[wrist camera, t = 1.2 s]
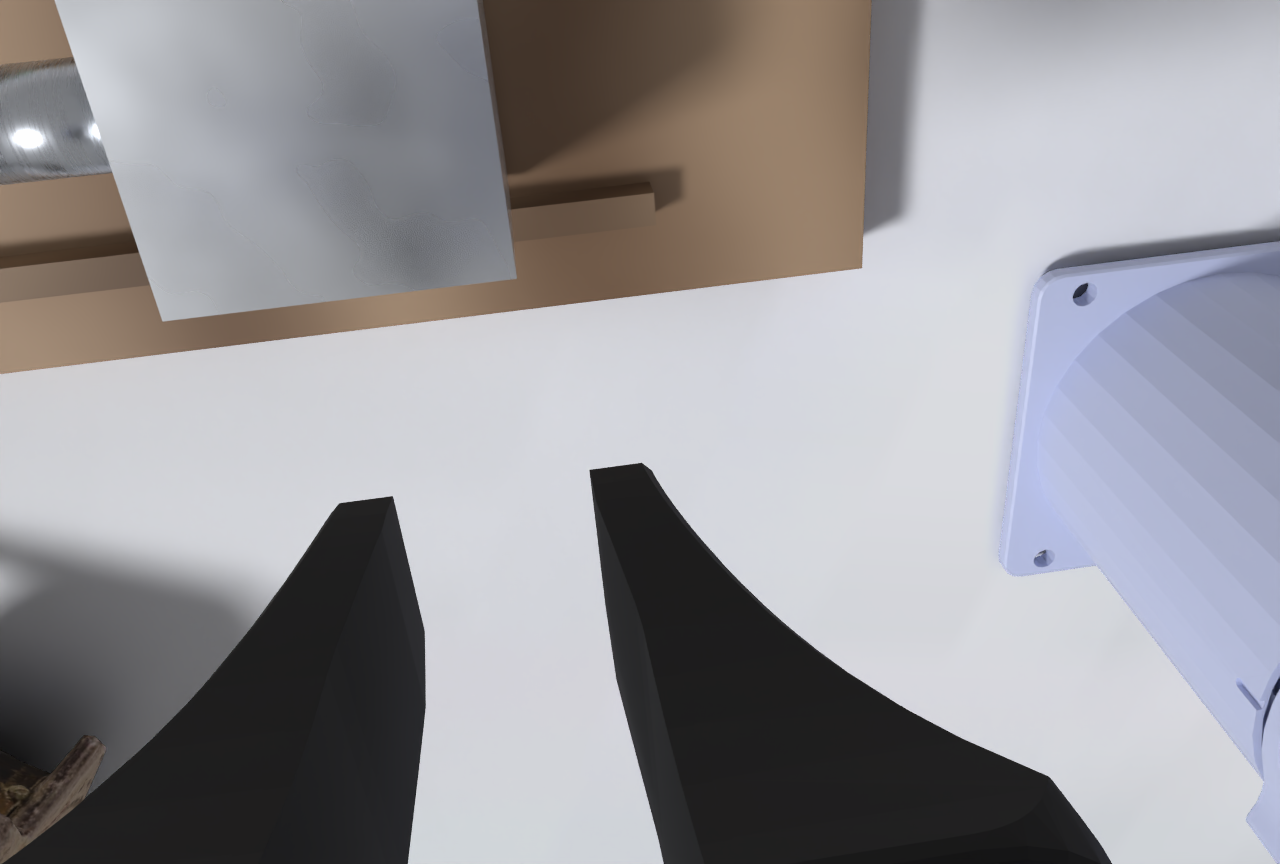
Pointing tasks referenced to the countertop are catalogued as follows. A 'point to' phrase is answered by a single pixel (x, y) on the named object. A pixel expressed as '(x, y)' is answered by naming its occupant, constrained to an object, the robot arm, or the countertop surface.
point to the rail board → (526, 176)
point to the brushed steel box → (277, 144)
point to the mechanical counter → (42, 793)
